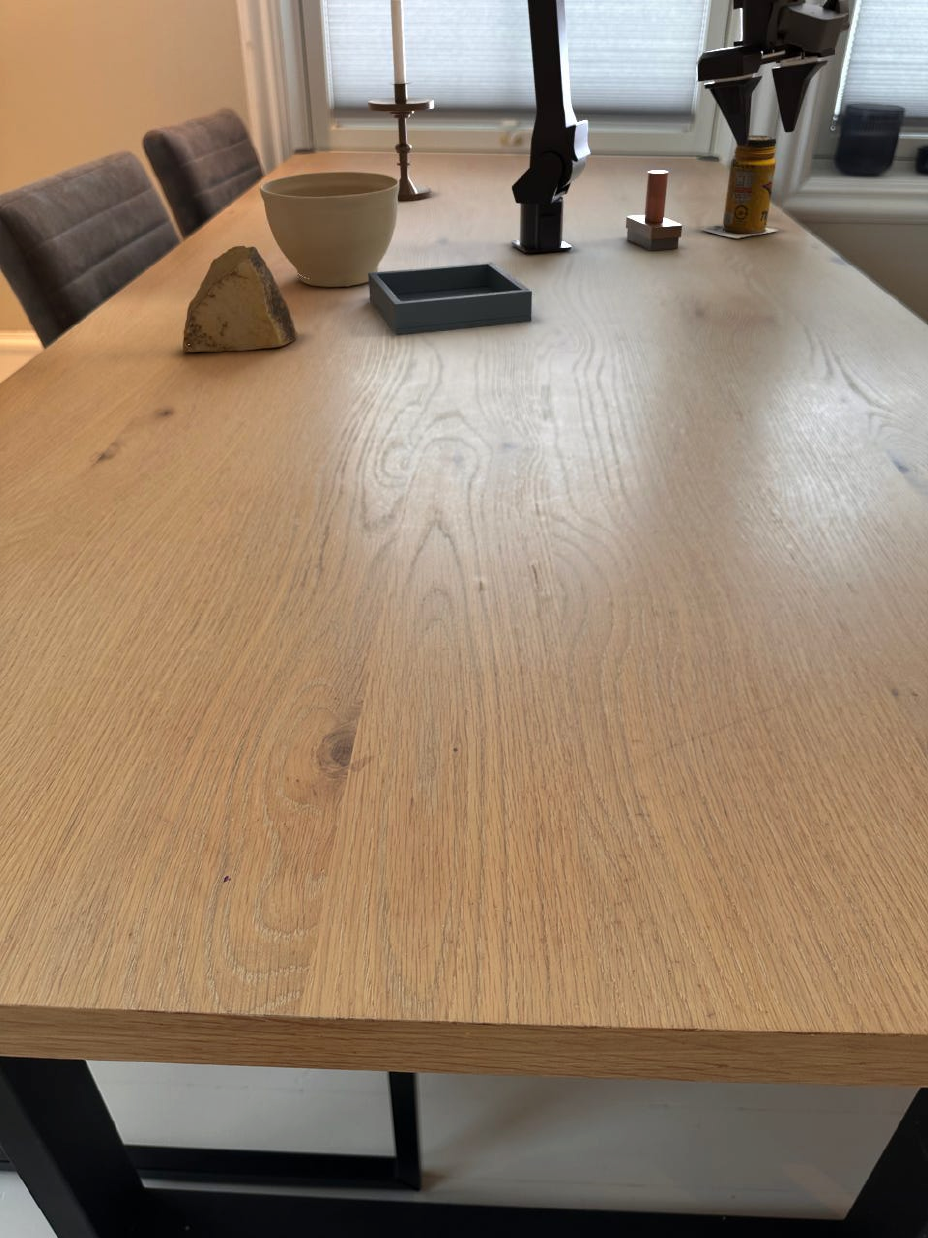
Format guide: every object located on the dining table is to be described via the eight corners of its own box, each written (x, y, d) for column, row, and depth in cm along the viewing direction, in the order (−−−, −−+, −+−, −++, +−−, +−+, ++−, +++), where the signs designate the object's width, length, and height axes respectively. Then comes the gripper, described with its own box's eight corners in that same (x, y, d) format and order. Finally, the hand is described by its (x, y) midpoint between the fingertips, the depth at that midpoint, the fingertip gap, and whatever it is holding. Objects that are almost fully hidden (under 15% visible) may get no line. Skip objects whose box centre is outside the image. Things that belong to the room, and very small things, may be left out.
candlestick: (448, 193, 164) (443, -54, 145) (413, 203, 157) (402, -56, 137) (398, 188, 169) (386, -51, 150) (361, 197, 162) (343, -53, 142)
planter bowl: (244, 281, 115) (231, 184, 109) (344, 257, 125) (337, 167, 119) (330, 304, 106) (320, 200, 100) (431, 276, 116) (427, 179, 110)
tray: (369, 300, 107) (367, 272, 105) (492, 289, 110) (492, 261, 109) (396, 335, 96) (394, 304, 94) (531, 321, 99) (532, 290, 98)
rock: (152, 338, 89) (244, 330, 86) (159, 250, 89) (251, 239, 86) (217, 376, 99) (301, 370, 96) (223, 296, 100) (307, 288, 96)
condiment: (778, 231, 134) (793, 137, 127) (736, 239, 130) (750, 142, 124) (740, 223, 139) (752, 132, 132) (698, 230, 135) (709, 137, 129)
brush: (624, 239, 132) (629, 168, 127) (653, 236, 133) (659, 166, 128) (649, 251, 125) (656, 177, 120) (680, 248, 126) (687, 175, 121)
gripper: (781, -24, 94) (779, 149, 101) (883, -39, 103) (873, 121, 111) (691, -6, 102) (695, 154, 109) (793, -21, 111) (789, 126, 119)
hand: (766, 138), depth 112 cm, fingers open, 9 cm apart
